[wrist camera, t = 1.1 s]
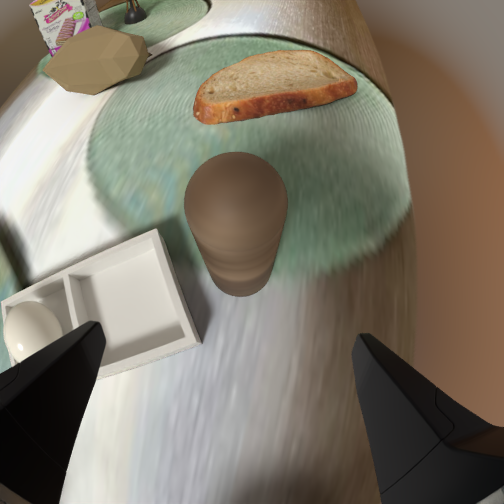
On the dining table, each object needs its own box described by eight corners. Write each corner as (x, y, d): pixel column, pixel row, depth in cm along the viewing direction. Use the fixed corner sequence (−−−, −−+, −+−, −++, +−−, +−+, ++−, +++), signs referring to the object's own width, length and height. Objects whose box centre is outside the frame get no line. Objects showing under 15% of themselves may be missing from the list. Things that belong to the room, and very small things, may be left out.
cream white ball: (82, 361, 20) (42, 358, 14) (39, 375, 19) (-2, 373, 14) (67, 300, 21) (29, 283, 16) (26, 318, 21) (-12, 305, 15)
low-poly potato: (59, 98, 33) (38, 111, 24) (61, 35, 26) (39, 30, 18) (149, 86, 38) (151, 94, 30) (154, 24, 31) (158, 13, 23)
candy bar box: (53, 64, 37) (27, 5, 22) (63, 52, 39) (40, -5, 23) (99, 48, 37) (77, -19, 22) (107, 37, 39) (88, -27, 24)
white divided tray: (202, 343, 21) (196, 342, 19) (36, 396, 18) (20, 397, 16) (164, 240, 24) (156, 228, 22) (16, 307, 21) (1, 301, 19)
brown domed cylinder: (281, 281, 23) (316, 201, 11) (223, 306, 22) (195, 247, 10) (256, 228, 24) (263, 119, 13) (200, 250, 24) (161, 152, 12)
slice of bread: (181, 121, 29) (175, 96, 26) (239, 49, 36) (239, 29, 32) (340, 164, 28) (350, 140, 24) (357, 78, 34) (364, 58, 30)
